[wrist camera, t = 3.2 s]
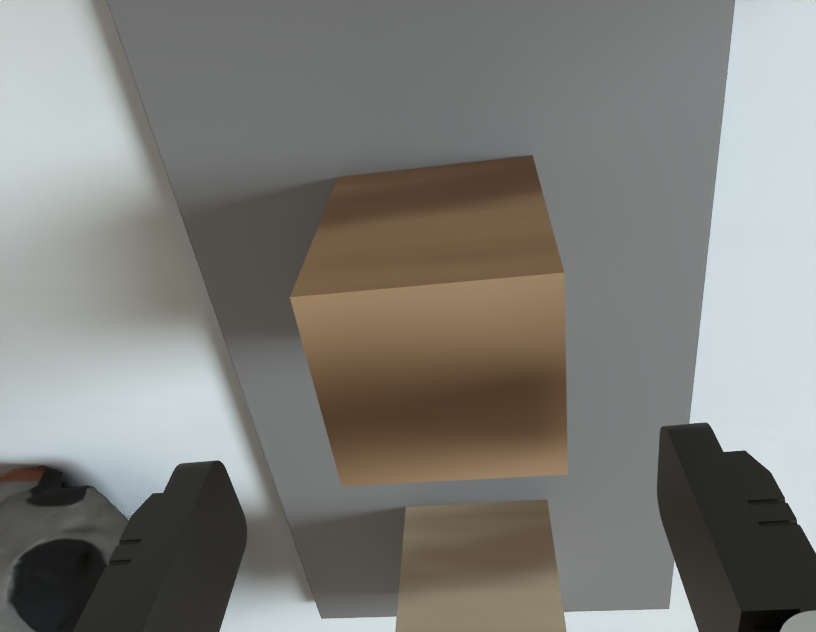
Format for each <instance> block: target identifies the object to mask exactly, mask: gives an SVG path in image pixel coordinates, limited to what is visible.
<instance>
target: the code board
mask: <svg viewBox="0 0 816 632" xmlns="http://www.w3.org/2000/svg"><path fill="white" fill-rule="evenodd" d="M107 2H108V5H109V8H110V11H111V14H112V17H113V19H114V22H115V25H116V28H117V31H118V34H119V37H120V40H121V42H122V45H123V48H124V51H125V54H126V57H127V60H128V63H129V66H130V68H131V71H132V74H133V77H134V80H135V83H136V86H137V89H138V91H139V94H140V97H141V100H142V103H143V106H144V109H145V112H146V115H147V117H148V120H149V123H150V126H151V129H152V132H153V135H154V138H155V140H156V143H157V146H158V149H159V152H160V155H161V158H162V161H163V164H164V166H165V169H166V172H167V175H168V178H169V181H170V184H171V187H172V189H173V192H174V195H175V198H176V201H177V204H178V207H179V210H180V213H181V215H182V218H183V221H184V224H185V227H186V230H187V233H188V236H189V238H190V241H191V244H192V247H193V250H194V253H195V256H196V259H197V262H198V264H199V267H200V270H201V273H202V276H203V279H204V282H205V285H206V287H207V290H208V293H209V296H210V299H211V302H212V305H213V308H214V311H215V313H216V316H217V319H218V322H219V325H220V328H221V331H222V334H223V336H224V339H225V342H226V345H227V348H228V351H229V354H230V357H231V359H232V362H233V365H234V368H235V371H236V374H237V377H238V380H239V383H240V385H241V388H242V391H243V394H244V397H245V400H246V403H247V406H248V408H249V411H250V414H251V417H252V420H253V423H254V426H255V429H256V432H257V434H258V437H259V440H260V443H261V446H262V449H263V452H264V455H265V457H266V460H267V463H268V466H269V469H270V472H271V475H272V478H273V481H274V483H275V486H276V489H277V492H278V495H279V498H280V501H281V504H282V506H283V509H284V512H285V515H286V518H287V521H288V524H289V527H290V530H291V532H292V535H293V538H294V541H295V544H296V547H297V550H298V553H299V555H300V558H301V561H302V564H303V567H304V570H305V573H306V576H307V579H308V581H309V584H310V587H311V590H312V593H313V596H314V599H315V602H316V604H317V607H318V610H319V613H320V616H321V618H357V617H393V616H397V608H398V595H399V583H400V571H401V559H402V547H403V535H404V523H405V511H406V507H409V506H429V505H450V504H470V503H491V502H511V501H532V500H548V507H549V514H550V521H551V528H552V535H553V542H554V549H555V556H556V563H557V570H558V577H559V584H560V591H561V597H562V604H563V611H564V612H573V611H608V610H644V609H669V604H670V595H671V585H672V576H673V567H674V557H673V554H672V551H671V548H670V545H669V542H668V539H667V536H666V533H665V530H664V527H663V524H662V521H661V517H660V512H659V507H658V499H657V474H658V456H659V437H660V429H661V427H662V426H670V425H682V424H689V420H690V411H691V401H692V392H693V383H694V374H695V365H696V355H697V346H698V337H699V328H700V319H701V309H702V300H703V291H704V282H705V273H706V263H707V254H708V245H709V236H710V227H711V217H712V208H713V199H714V190H715V181H716V171H717V162H718V153H719V144H720V135H721V125H722V116H723V107H724V98H725V89H726V79H727V70H728V61H729V52H730V43H731V33H732V24H733V15H734V6H735V0H107ZM531 155H533V158H534V162H535V166H536V170H537V173H538V177H539V181H540V184H541V188H542V192H543V196H544V199H545V203H546V207H547V210H548V214H549V218H550V221H551V225H552V229H553V233H554V236H555V240H556V244H557V247H558V251H559V255H560V259H561V262H562V266H563V270H564V284H565V337H566V390H567V443H568V474H567V475H548V476H530V477H511V478H492V479H473V480H454V481H436V482H417V483H398V484H379V485H360V486H341V483H340V479H339V475H338V472H337V468H336V464H335V461H334V457H333V453H332V450H331V446H330V442H329V439H328V435H327V431H326V428H325V424H324V420H323V417H322V413H321V409H320V406H319V402H318V398H317V395H316V391H315V387H314V384H313V380H312V376H311V373H310V369H309V366H308V362H307V358H306V355H305V351H304V347H303V344H302V340H301V336H300V333H299V329H298V325H297V322H296V318H295V314H294V311H293V307H292V303H291V300H290V296H291V293H292V291H293V288H294V286H295V283H296V281H297V278H298V276H299V273H300V271H301V268H302V266H303V263H304V261H305V258H306V256H307V253H308V251H309V248H310V246H311V243H312V241H313V238H314V236H315V233H316V231H317V228H318V226H319V223H320V221H321V218H322V216H323V213H324V211H325V208H326V206H327V203H328V201H329V198H330V196H331V193H332V191H333V188H334V186H335V183H336V181H337V178H338V177H345V176H354V175H363V174H371V173H380V172H389V171H398V170H407V169H416V168H425V167H434V166H442V165H451V164H460V163H469V162H478V161H487V160H496V159H504V158H513V157H522V156H531Z"/></svg>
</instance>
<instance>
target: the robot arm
mask: <svg viewBox="0 0 816 632" xmlns="http://www.w3.org/2000/svg"><path fill="white" fill-rule="evenodd" d="M657 499H658V507H659V512H660V517H661V521H662V524H663V527H664V530H665V533H666V536H667V539H668V542H669V545H670V548H671V551H672V554H673V557H674V559H675V562H676V565H677V568H678V571H679V574H680V577H681V580H682V583H683V586H684V589H685V592H686V595H687V598H688V601H689V604H690V607H691V610H692V613H693V615H694V618H695V621H696V624H697V627H698V630H699V632H816V553H815V551H814V550H813V548H812V546H811V544H810V542H809V541H808V539H807V537H806V535H805V533H804V532H803V530H802V528H801V526H800V525H798V524H797V519H796V517H795V515H794V514H793V512H792V510H791V508H790V506H789V505H788V503H786V502H785V497H784V496H783V494H782V492H781V490H780V488H779V487H778V485H777V483H776V481H775V479H774V478H773V476H772V474H771V472H770V471H769V470H767V469H766V468H765V467H764V466H763V465H761V464H760V463H759V462H758V461H757V460H755V459H754V458H753V457H752V456H751V455H750V454H748V453H747V452H746V451H732V452H723V450H722V448H721V446H720V444H719V442H718V440H717V438H716V436H715V434H714V432H713V430H712V428H711V427H710V425H709V424H708V423H694V424H682V425H670V426H662V427H661V429H660V437H659V456H658V474H657ZM246 538H247V527H246V520H245V516H244V513H243V510H242V508H241V505H240V503H239V500H238V498H237V495H236V493H235V491H234V488H233V486H232V483H231V481H230V478H229V476H228V473H227V471H226V468H225V466H224V465H223V463H222V462H220V461H206V462H194V463H182V464H179V465H178V466H177V467H176V468H175V470H174V471H173V473H172V475H171V478H170V480H169V482H168V484H167V486H166V488H165V490H164V492H163V493H155V494H152V495H151V496H150V497H149V498H148V499H147V500H146V501H145V502H144V503H143V504H142V505H141V506H140V507H139V509H138V510H137V511H136V512H135V513H134V514H133V515H132V516H131V518H130V520H129V522H128V524H127V526H126V528H125V530H124V532H123V534H122V535H121V537H120V539H119V545H117V546H116V547H115V549H114V551H113V553H112V555H111V557H110V559H109V565H108V566H106V567H105V569H104V571H103V573H102V575H101V577H100V579H99V581H98V583H97V585H96V587H95V589H94V591H93V593H92V595H91V597H90V598H89V600H88V602H87V604H86V606H85V608H84V610H83V612H82V614H81V616H80V618H79V620H78V622H77V624H76V626H75V628H74V630H73V632H219V631H220V628H221V624H222V621H223V618H224V615H225V611H226V608H227V605H228V602H229V598H230V595H231V592H232V589H233V586H234V582H235V579H236V576H237V573H238V569H239V566H240V563H241V560H242V556H243V553H244V550H245V546H246Z"/></svg>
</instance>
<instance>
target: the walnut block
mask: <svg viewBox="0 0 816 632" xmlns="http://www.w3.org/2000/svg"><path fill="white" fill-rule="evenodd" d="M290 300H291V303H292V307H293V311H294V314H295V318H296V322H297V325H298V329H299V333H300V336H301V340H302V344H303V347H304V351H305V355H306V358H307V362H308V366H309V369H310V373H311V376H312V380H313V384H314V387H315V391H316V395H317V398H318V402H319V406H320V409H321V413H322V417H323V420H324V424H325V428H326V431H327V435H328V439H329V442H330V446H331V450H332V453H333V457H334V461H335V464H336V468H337V472H338V475H339V479H340V483H341V486H360V485H379V484H398V483H417V482H436V481H454V480H473V479H492V478H511V477H530V476H548V475H567V474H568V443H567V390H566V337H565V284H564V270H563V266H562V262H561V259H560V255H559V251H558V247H557V244H556V240H555V236H554V233H553V229H552V225H551V221H550V218H549V214H548V210H547V207H546V203H545V199H544V196H543V192H542V188H541V184H540V181H539V177H538V173H537V170H536V166H535V162H534V158H533V155H531V156H522V157H513V158H504V159H496V160H487V161H478V162H469V163H460V164H451V165H442V166H434V167H425V168H416V169H407V170H398V171H389V172H380V173H371V174H363V175H354V176H345V177H338V178H337V181H336V183H335V186H334V188H333V191H332V193H331V196H330V198H329V201H328V203H327V206H326V208H325V211H324V213H323V216H322V218H321V221H320V223H319V226H318V228H317V231H316V233H315V236H314V238H313V241H312V243H311V246H310V248H309V251H308V253H307V256H306V258H305V261H304V263H303V266H302V268H301V271H300V273H299V276H298V278H297V281H296V283H295V286H294V288H293V291H292V293H291V296H290Z"/></svg>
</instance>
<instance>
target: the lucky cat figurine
mask: <svg viewBox="0 0 816 632" xmlns="http://www.w3.org/2000/svg"><path fill="white" fill-rule="evenodd" d="M62 477H63V472H59V471H54V470H50V469H48V468H46V467H44V466H40V467H38V468H30V469H22V470H14V471H12V472H9V473H7V474H4V475H2V476H0V632H73V630H74V628H75V626H76V624H77V622H78V620H79V618H80V616H81V614H82V612H83V610H84V608H85V606H86V604H87V602H88V600H89V598H90V597H91V595H92V593H93V591H94V589H95V587H96V585H97V583H98V581H99V579H100V577H101V575H102V573H103V571H104V569H105V567H106V566H108V565H109V559H110V557H111V555H112V553H113V551H114V549H115V547H116V546H117V545H119V539H120V537H121V535H122V534H123V532H124V530H125V528H126V526H127V524H128V522H129V520H128V519H127V518H126V517H125V516H124V515H123V514H122V513H121V512H120V511H119V510H117V509H116V508H115V507H114V506H113V505H112V504H111V503H110V502H109V500H108V499H107V498H106V497H105V496H104V495H102V494H101V493H99V492H98V491H97V490H96V489H95V488H94V487H91V486H80V487H72V488H64V489H62Z"/></svg>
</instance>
